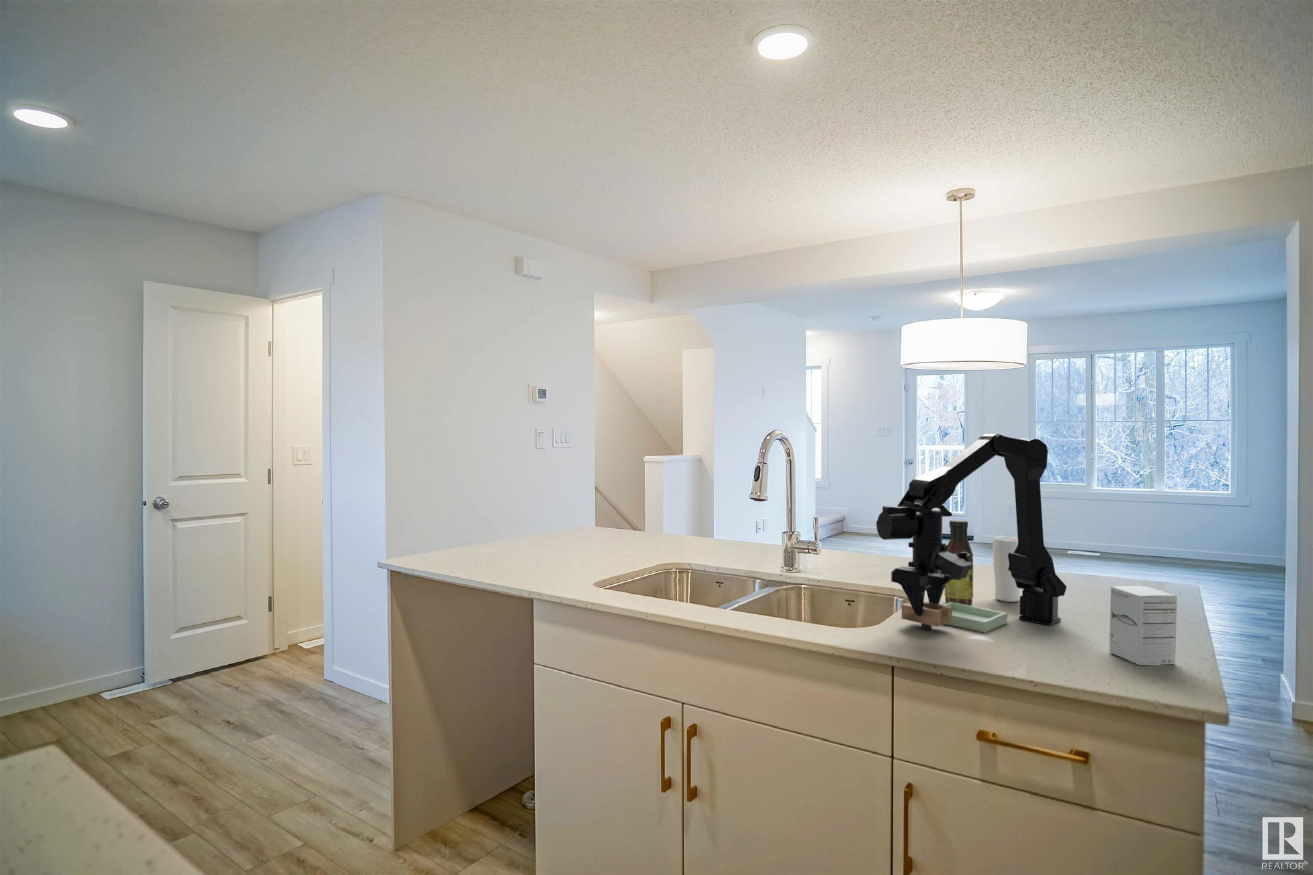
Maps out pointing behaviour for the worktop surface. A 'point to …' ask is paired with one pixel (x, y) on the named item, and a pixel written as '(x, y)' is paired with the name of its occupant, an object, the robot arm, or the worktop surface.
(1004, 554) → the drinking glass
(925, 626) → the grey t-shaped knob
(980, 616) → the tray
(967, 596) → the sauce bottle
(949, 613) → the collar
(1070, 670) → the worktop surface
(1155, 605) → the supplement box
